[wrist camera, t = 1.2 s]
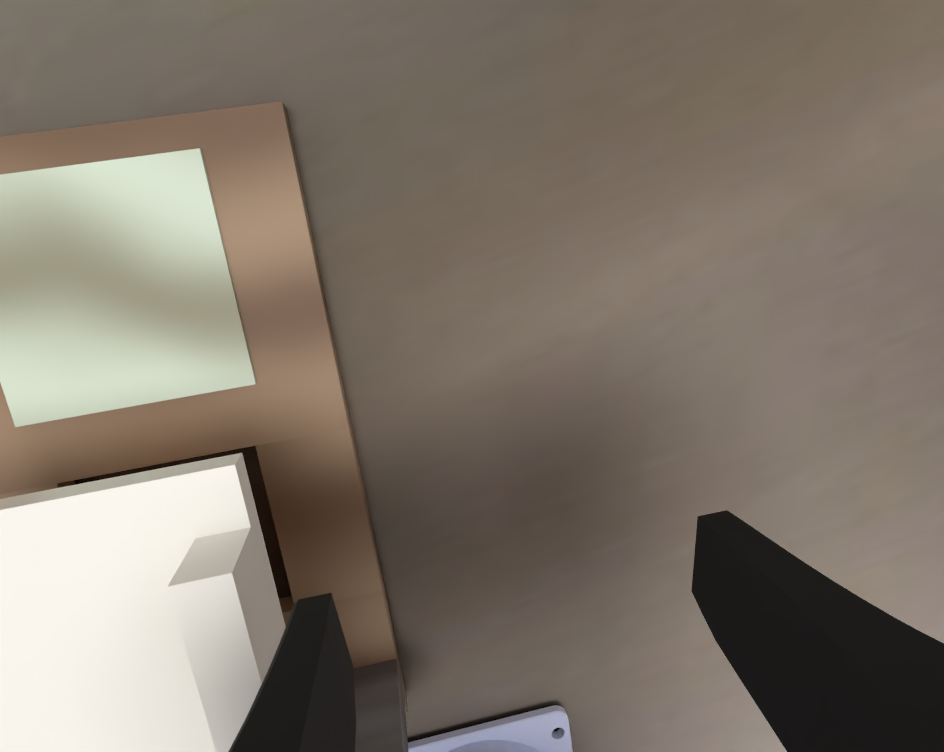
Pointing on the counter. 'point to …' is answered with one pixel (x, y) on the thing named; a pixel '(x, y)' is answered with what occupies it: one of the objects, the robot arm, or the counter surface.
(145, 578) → the cover
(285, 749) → the robot arm
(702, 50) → the counter surface
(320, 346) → the board
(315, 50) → the counter surface
